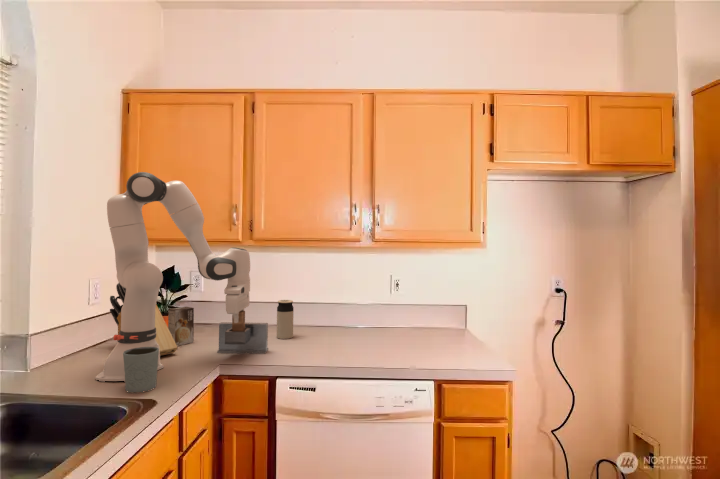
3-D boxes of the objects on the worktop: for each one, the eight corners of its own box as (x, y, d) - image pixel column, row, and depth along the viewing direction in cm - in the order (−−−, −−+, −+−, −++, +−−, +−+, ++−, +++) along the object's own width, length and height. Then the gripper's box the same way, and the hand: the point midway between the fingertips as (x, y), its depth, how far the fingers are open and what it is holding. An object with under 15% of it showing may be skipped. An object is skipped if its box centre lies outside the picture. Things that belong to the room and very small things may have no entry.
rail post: (242, 335, 162) (242, 312, 162) (232, 334, 162) (232, 312, 162) (244, 332, 166) (245, 310, 166) (235, 332, 166) (235, 310, 166)
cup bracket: (259, 359, 160) (260, 329, 160) (209, 359, 160) (209, 328, 160) (268, 349, 175) (268, 322, 175) (222, 349, 175) (222, 321, 175)
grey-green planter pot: (138, 396, 121) (138, 356, 121) (114, 391, 125) (115, 352, 125) (165, 385, 131) (166, 348, 131) (142, 380, 135) (143, 344, 135)
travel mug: (277, 339, 193) (277, 302, 193) (275, 336, 201) (276, 299, 201) (293, 338, 195) (294, 301, 195) (292, 335, 203) (292, 299, 203)
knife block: (132, 342, 184) (133, 274, 185) (178, 354, 166) (179, 279, 166) (105, 347, 175) (107, 276, 175) (151, 361, 156) (153, 281, 156)
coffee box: (186, 340, 189) (187, 306, 190) (193, 342, 186) (194, 307, 186) (167, 344, 182) (168, 308, 182) (174, 346, 178) (175, 310, 178)
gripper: (238, 284, 175) (238, 316, 175) (222, 290, 154) (222, 326, 154) (253, 284, 175) (252, 316, 175) (239, 290, 154) (238, 326, 154)
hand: (238, 321), depth 164 cm, fingers closed on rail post, 4 cm apart
